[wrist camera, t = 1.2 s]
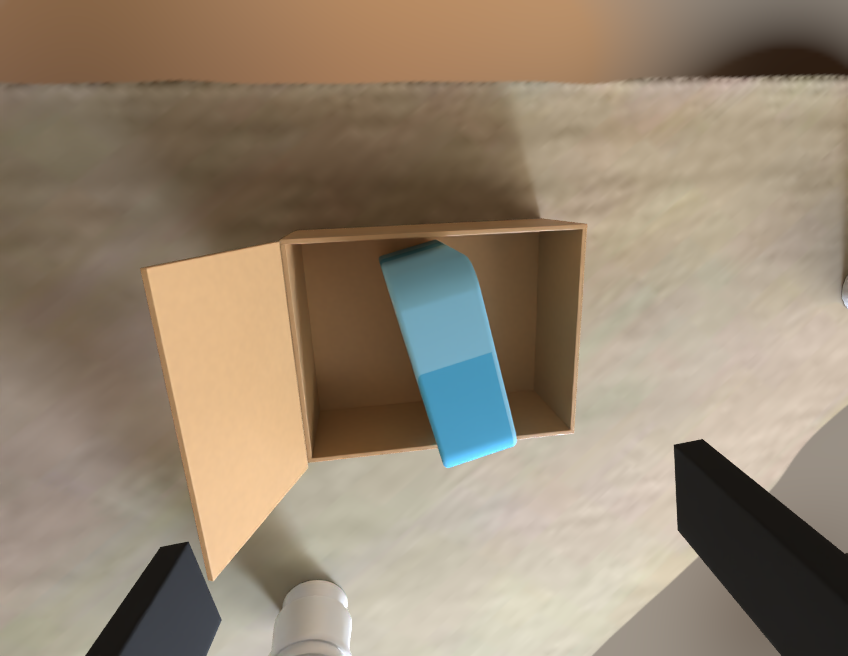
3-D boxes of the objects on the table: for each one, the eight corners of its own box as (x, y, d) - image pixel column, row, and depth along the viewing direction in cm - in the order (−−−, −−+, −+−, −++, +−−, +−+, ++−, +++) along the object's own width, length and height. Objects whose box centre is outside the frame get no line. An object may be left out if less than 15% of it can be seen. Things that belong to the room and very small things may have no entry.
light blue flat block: (376, 254, 34) (387, 283, 22) (434, 236, 34) (473, 257, 23) (420, 394, 37) (448, 480, 26) (472, 377, 38) (522, 455, 26)
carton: (316, 412, 37) (307, 462, 30) (295, 230, 33) (279, 239, 26) (535, 391, 39) (573, 433, 32) (541, 218, 35) (587, 224, 28)
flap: (308, 467, 29) (304, 467, 29) (279, 241, 25) (274, 241, 25) (213, 581, 21) (207, 580, 21) (146, 268, 17) (139, 268, 17)
